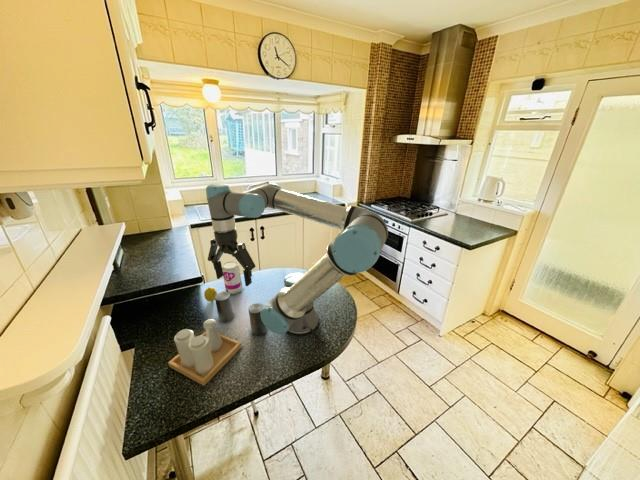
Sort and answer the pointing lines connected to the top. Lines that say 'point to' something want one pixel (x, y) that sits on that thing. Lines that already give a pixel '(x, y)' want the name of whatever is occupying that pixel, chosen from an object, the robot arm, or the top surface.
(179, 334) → the white shaker
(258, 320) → the grey canister near
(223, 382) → the top surface
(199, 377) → the tray
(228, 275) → the supplement can
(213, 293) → the lemon
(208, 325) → the salt shaker
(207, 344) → the white shaker
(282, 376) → the top surface
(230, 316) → the grey canister far
